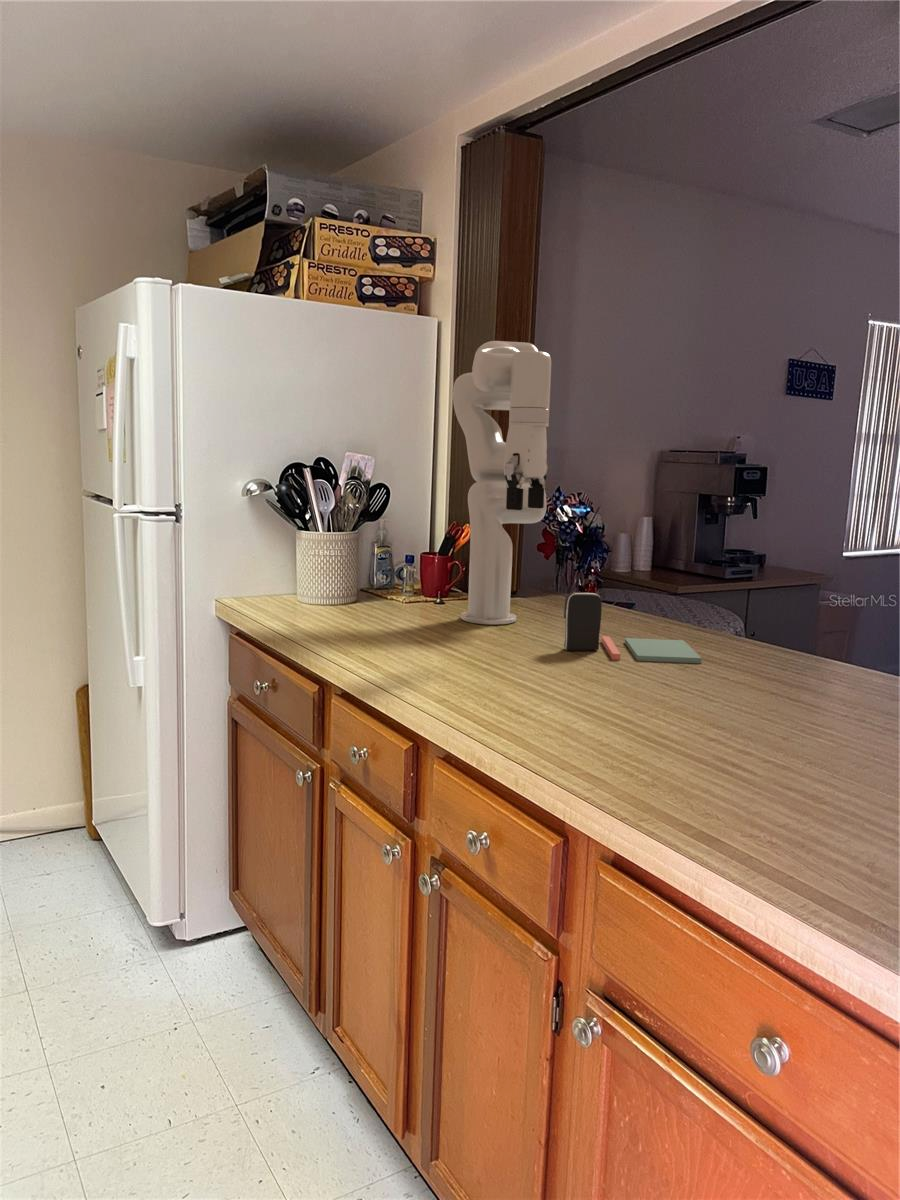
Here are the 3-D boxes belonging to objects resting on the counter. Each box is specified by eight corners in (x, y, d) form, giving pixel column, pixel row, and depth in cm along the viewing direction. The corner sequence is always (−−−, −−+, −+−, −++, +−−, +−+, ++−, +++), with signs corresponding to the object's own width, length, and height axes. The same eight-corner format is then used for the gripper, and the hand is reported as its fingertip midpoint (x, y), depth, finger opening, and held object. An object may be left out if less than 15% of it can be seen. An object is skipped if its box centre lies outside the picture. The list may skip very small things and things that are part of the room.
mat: (624, 642, 189) (624, 637, 189) (683, 645, 189) (683, 640, 188) (637, 660, 173) (637, 655, 173) (701, 663, 173) (701, 658, 173)
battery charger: (593, 647, 184) (596, 590, 182) (600, 651, 180) (603, 594, 178) (560, 647, 182) (563, 590, 181) (566, 651, 179) (569, 594, 177)
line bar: (601, 641, 189) (601, 636, 189) (608, 642, 189) (609, 636, 189) (612, 659, 173) (612, 653, 173) (620, 660, 173) (620, 653, 173)
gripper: (529, 420, 183) (526, 506, 186) (490, 415, 168) (487, 509, 171) (564, 420, 180) (560, 508, 182) (528, 416, 165) (524, 511, 167)
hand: (525, 508), depth 177 cm, fingers open, 9 cm apart
